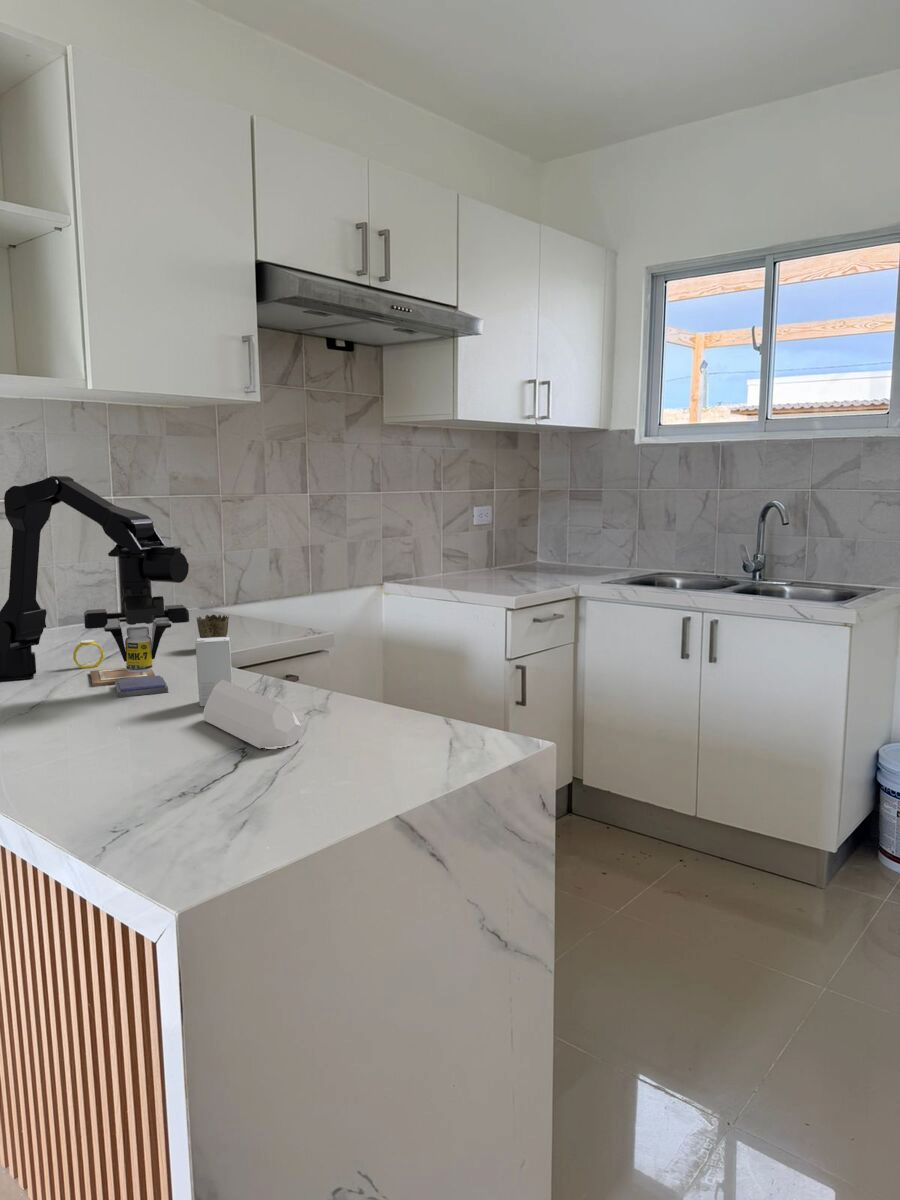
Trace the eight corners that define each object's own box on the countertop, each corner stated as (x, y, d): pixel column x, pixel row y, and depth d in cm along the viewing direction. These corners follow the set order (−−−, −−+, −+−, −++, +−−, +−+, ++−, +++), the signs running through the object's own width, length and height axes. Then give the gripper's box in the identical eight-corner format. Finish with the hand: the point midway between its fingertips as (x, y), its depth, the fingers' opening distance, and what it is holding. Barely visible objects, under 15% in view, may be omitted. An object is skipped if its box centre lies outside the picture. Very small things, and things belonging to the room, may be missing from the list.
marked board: (92, 686, 166) (92, 682, 165) (90, 673, 176) (90, 669, 176) (156, 680, 171) (156, 676, 170) (150, 668, 181) (150, 664, 181)
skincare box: (233, 699, 156) (231, 635, 154) (233, 705, 152) (230, 640, 150) (199, 701, 155) (196, 637, 153) (198, 707, 150) (195, 641, 149)
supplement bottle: (125, 673, 160) (122, 630, 159) (127, 668, 164) (125, 626, 163) (151, 672, 161) (149, 629, 160) (153, 666, 166) (151, 625, 164)
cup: (210, 653, 196) (209, 620, 195) (191, 650, 201) (190, 617, 200) (236, 648, 202) (235, 616, 201) (217, 645, 207) (215, 613, 205)
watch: (76, 671, 180) (72, 644, 179) (74, 668, 182) (70, 642, 181) (105, 666, 183) (102, 639, 182) (103, 663, 185) (99, 637, 184)
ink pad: (118, 697, 157) (117, 689, 157) (115, 686, 165) (114, 679, 165) (168, 692, 161) (167, 684, 161) (162, 682, 169) (162, 674, 169)
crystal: (186, 700, 141) (253, 733, 123) (220, 674, 145) (290, 702, 127) (209, 733, 145) (277, 769, 127) (241, 706, 148) (312, 738, 130)
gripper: (83, 588, 149) (88, 673, 151) (191, 583, 157) (194, 664, 159) (81, 580, 159) (86, 661, 161) (183, 576, 167) (186, 653, 169)
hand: (139, 660), depth 162 cm, fingers closed on supplement bottle, 5 cm apart
